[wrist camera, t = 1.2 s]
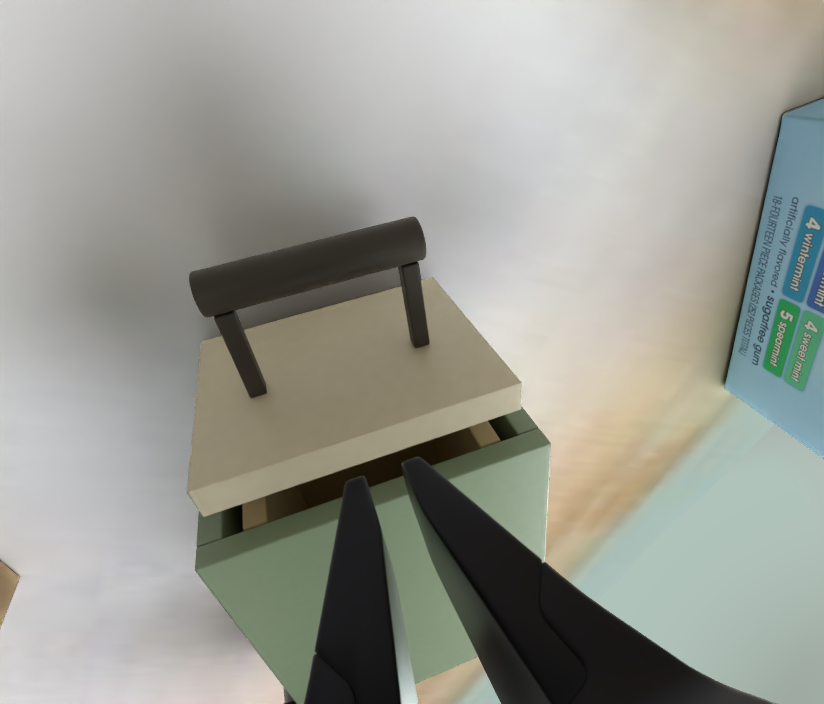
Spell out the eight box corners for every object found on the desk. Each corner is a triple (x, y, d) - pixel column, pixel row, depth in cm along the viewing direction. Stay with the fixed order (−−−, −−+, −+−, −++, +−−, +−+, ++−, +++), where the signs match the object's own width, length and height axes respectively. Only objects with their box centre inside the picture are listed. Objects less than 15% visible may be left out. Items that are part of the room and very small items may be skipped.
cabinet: (207, 373, 22) (193, 571, 14) (443, 305, 24) (551, 443, 16) (291, 541, 30) (314, 728, 22) (462, 480, 32) (541, 630, 24)
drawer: (148, 234, 17) (98, 359, 10) (420, 171, 19) (522, 243, 12) (287, 518, 27) (305, 672, 21) (455, 459, 29) (521, 584, 22)
